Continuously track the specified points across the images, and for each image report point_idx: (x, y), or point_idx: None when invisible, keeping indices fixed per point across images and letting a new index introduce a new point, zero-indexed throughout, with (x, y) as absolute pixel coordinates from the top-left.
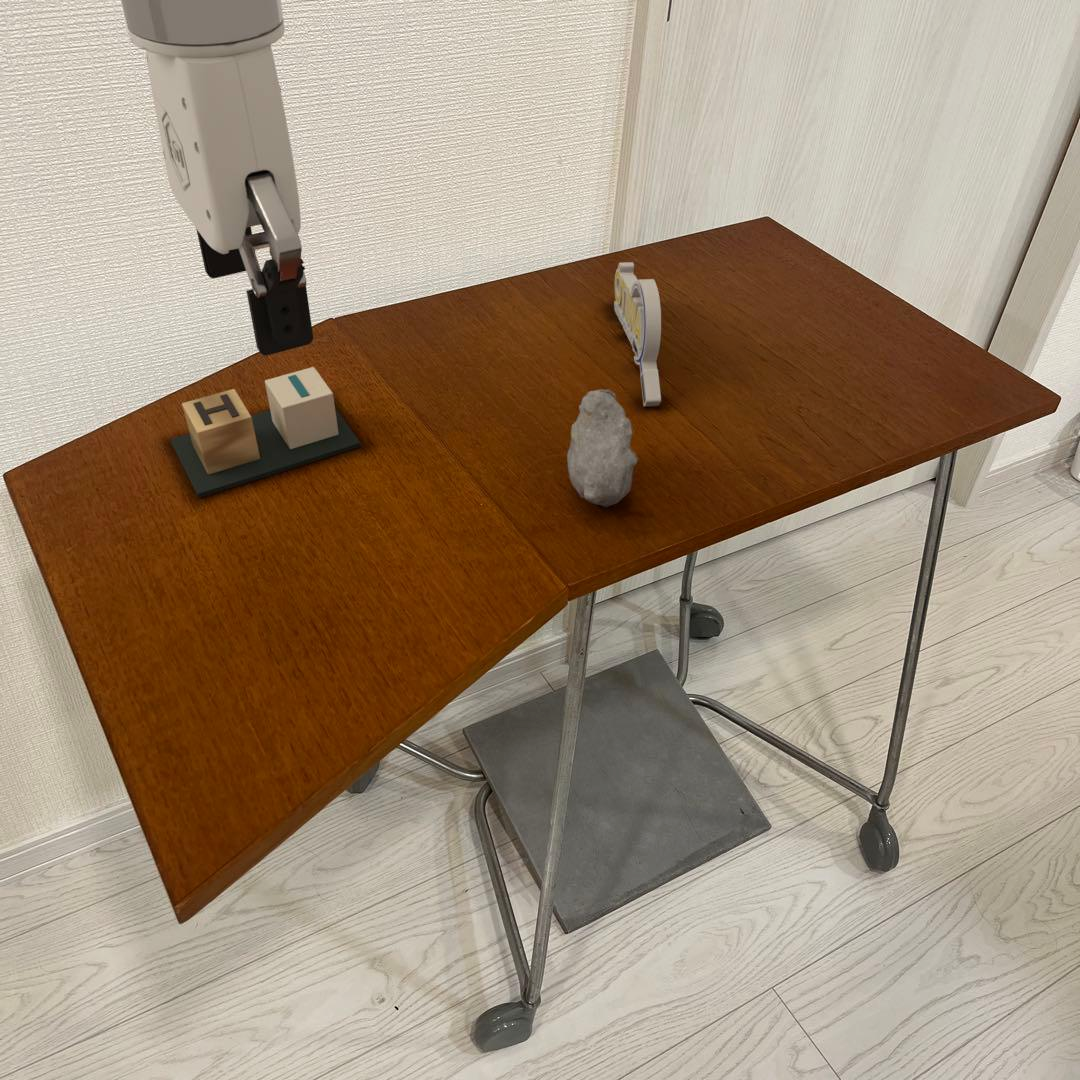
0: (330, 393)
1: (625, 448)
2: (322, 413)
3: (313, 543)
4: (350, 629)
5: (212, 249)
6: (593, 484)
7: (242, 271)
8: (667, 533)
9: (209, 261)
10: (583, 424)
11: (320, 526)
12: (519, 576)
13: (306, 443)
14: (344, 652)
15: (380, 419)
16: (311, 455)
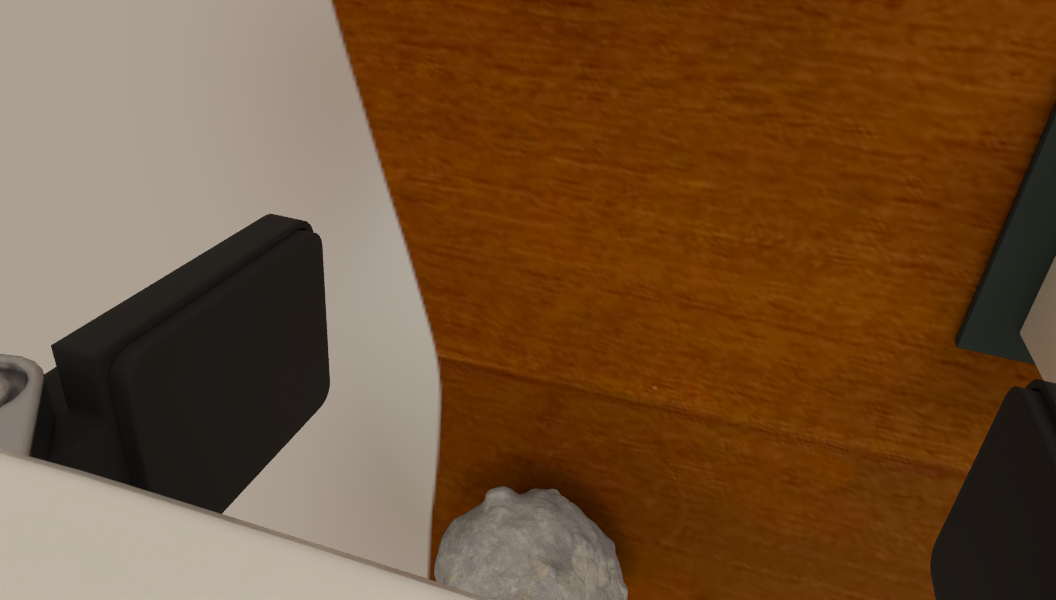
0: None
1: None
2: (1049, 341)
3: (769, 114)
4: (535, 54)
5: (1045, 519)
6: (488, 511)
7: (953, 506)
8: (450, 506)
9: (1040, 446)
10: (526, 595)
11: (803, 150)
12: (488, 325)
13: (1050, 267)
14: (496, 18)
15: None
16: (1005, 253)
